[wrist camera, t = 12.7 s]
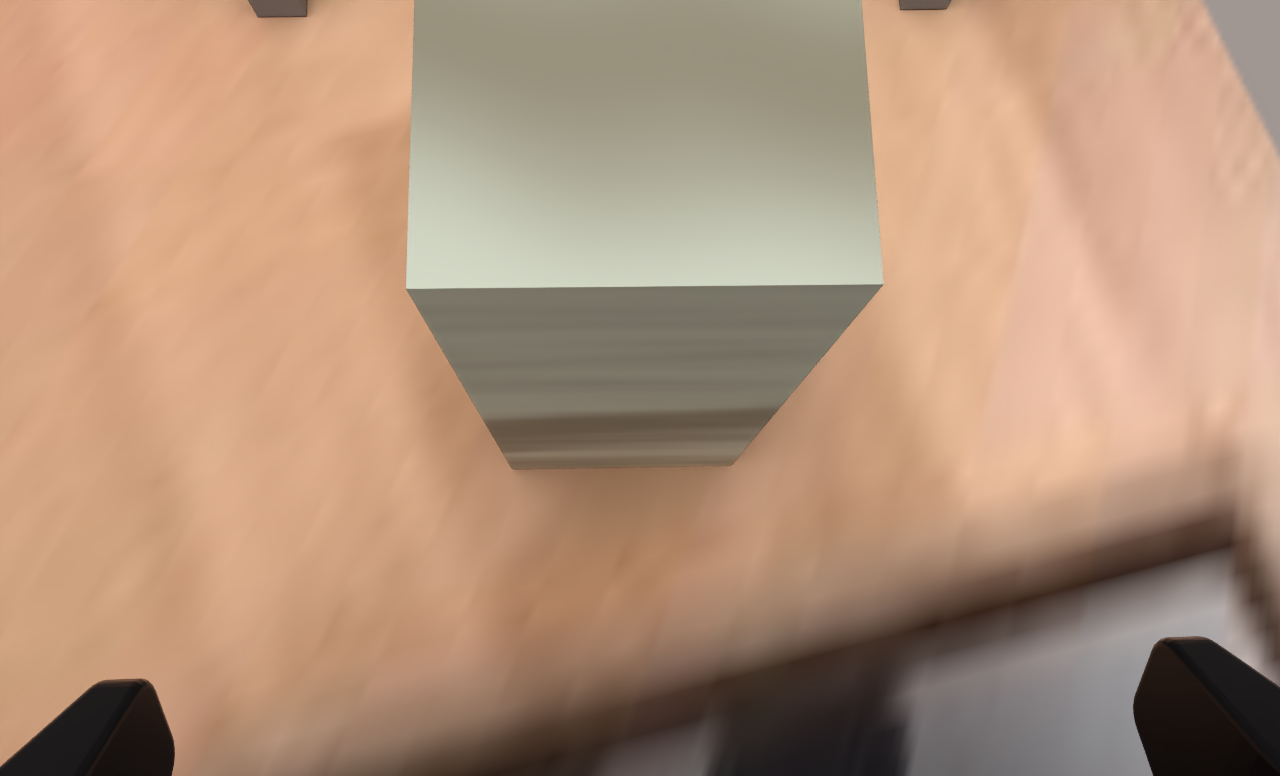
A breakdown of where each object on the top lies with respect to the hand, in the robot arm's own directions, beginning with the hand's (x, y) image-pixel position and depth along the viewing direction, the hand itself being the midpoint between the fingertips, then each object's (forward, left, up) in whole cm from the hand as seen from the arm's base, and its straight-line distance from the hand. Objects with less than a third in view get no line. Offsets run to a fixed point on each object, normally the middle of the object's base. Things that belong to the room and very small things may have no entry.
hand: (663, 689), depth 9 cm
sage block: (+6, -2, -14) cm, 15 cm away
